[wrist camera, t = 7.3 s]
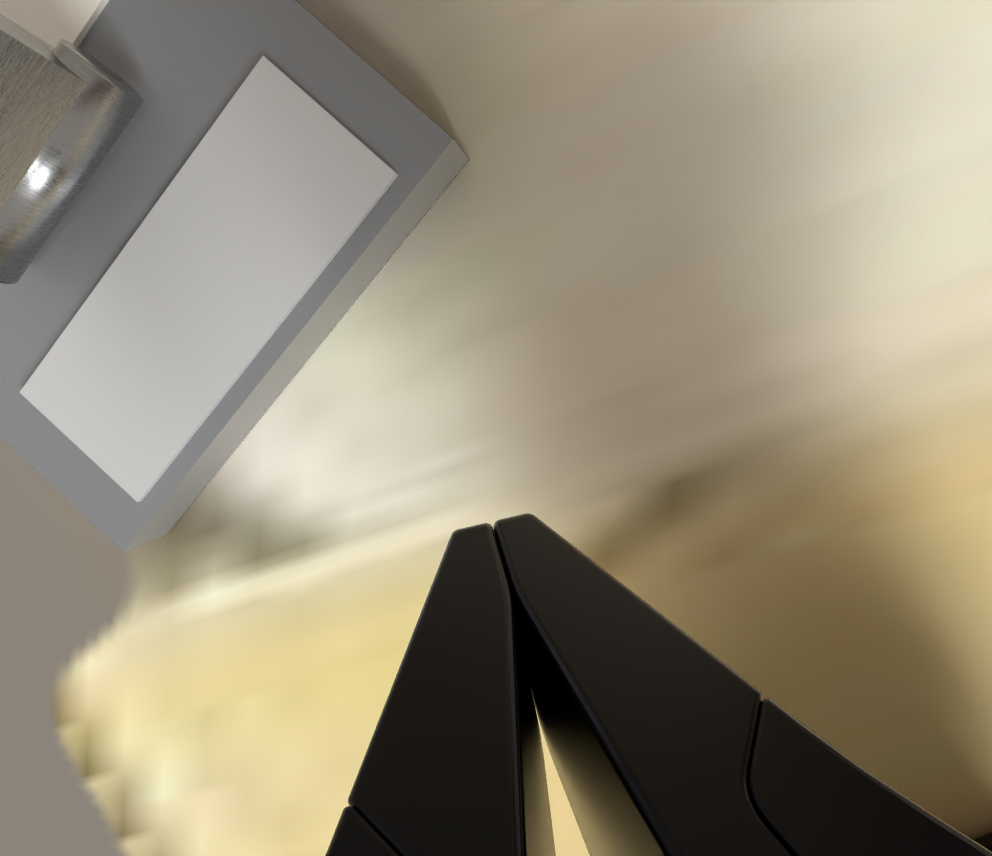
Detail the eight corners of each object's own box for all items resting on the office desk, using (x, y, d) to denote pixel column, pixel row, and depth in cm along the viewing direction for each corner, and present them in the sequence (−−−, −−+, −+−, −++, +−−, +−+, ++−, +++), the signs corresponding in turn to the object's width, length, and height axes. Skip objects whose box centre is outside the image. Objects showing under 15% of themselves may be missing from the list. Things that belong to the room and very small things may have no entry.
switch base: (469, 159, 20) (450, 135, 18) (166, 534, 23) (116, 555, 20) (89, -175, 21) (24, -240, 18) (-164, 226, 23) (-248, 214, 21)
